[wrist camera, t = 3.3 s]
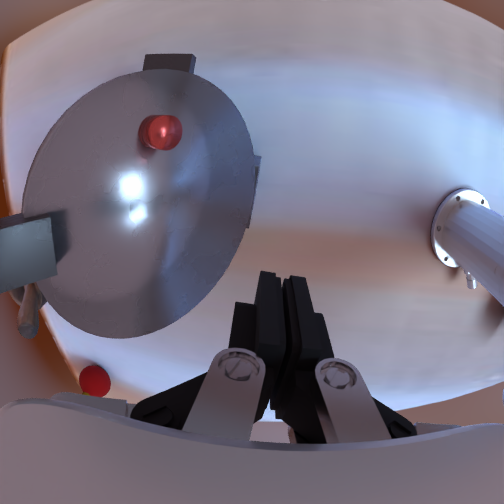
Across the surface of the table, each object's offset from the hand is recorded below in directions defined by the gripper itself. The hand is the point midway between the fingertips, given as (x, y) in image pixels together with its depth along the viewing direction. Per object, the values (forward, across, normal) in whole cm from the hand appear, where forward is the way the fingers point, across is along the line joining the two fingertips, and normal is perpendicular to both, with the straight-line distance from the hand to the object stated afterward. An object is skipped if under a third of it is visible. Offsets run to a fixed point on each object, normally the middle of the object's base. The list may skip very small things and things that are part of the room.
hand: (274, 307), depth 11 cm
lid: (+7, +10, 0) cm, 12 cm away
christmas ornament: (+28, +28, +43) cm, 59 cm away
